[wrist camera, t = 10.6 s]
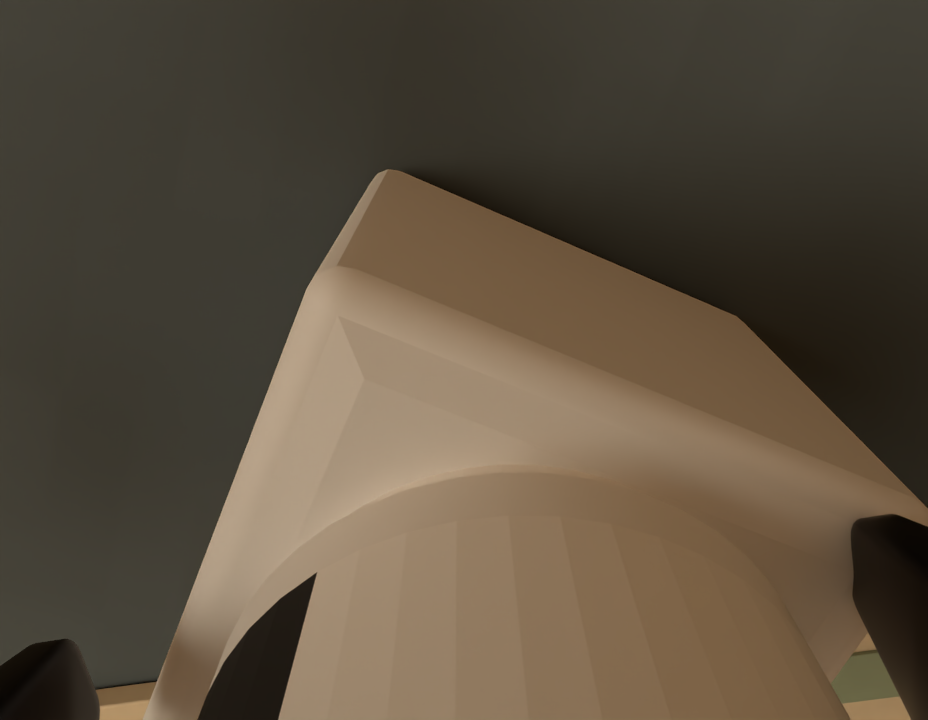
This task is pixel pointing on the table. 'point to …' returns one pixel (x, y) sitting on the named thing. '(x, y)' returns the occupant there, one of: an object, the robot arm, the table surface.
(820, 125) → the table surface
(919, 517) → the medicine bottle
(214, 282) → the table surface
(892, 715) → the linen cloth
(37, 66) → the table surface
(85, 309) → the table surface
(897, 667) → the robot arm
